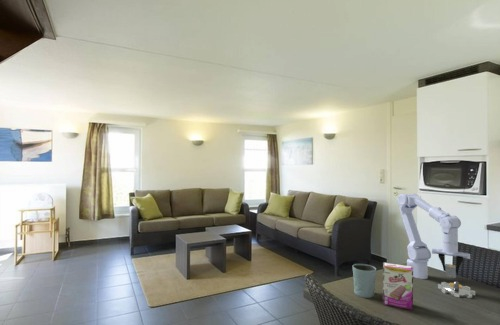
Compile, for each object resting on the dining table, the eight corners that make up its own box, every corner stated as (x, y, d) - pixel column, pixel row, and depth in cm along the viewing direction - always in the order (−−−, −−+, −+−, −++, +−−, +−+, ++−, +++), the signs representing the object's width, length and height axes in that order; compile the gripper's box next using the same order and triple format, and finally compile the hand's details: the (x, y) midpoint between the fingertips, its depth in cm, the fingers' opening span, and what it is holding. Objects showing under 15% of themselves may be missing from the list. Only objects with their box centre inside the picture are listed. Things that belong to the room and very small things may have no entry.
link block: (445, 275, 131) (445, 265, 131) (445, 273, 134) (445, 263, 134) (455, 277, 129) (455, 267, 129) (455, 275, 132) (455, 265, 132)
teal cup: (348, 293, 129) (348, 267, 129) (357, 287, 137) (357, 261, 137) (371, 300, 122) (371, 272, 123) (379, 293, 130) (379, 266, 130)
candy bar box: (382, 305, 118) (382, 265, 119) (382, 300, 123) (382, 262, 123) (413, 310, 114) (413, 269, 114) (412, 305, 118) (412, 265, 119)
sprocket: (438, 293, 128) (437, 280, 128) (438, 282, 140) (437, 271, 140) (476, 300, 121) (476, 287, 121) (473, 289, 132) (473, 277, 132)
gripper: (431, 241, 133) (431, 270, 133) (470, 246, 125) (470, 277, 124) (432, 238, 139) (432, 266, 138) (469, 243, 131) (469, 272, 130)
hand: (450, 271), depth 132 cm, fingers closed on link block, 4 cm apart
